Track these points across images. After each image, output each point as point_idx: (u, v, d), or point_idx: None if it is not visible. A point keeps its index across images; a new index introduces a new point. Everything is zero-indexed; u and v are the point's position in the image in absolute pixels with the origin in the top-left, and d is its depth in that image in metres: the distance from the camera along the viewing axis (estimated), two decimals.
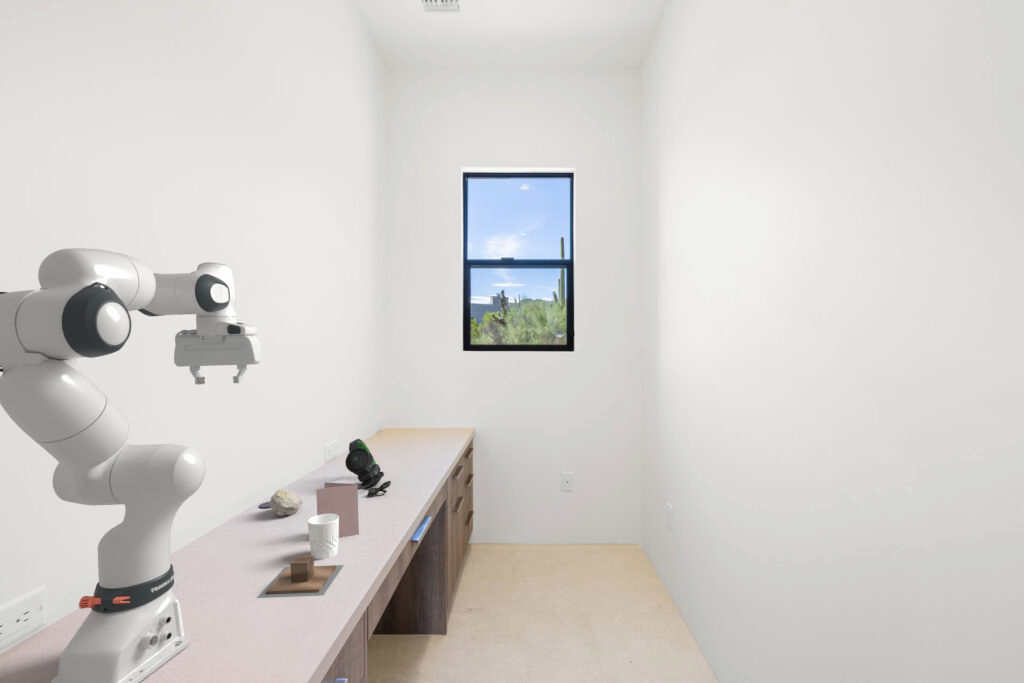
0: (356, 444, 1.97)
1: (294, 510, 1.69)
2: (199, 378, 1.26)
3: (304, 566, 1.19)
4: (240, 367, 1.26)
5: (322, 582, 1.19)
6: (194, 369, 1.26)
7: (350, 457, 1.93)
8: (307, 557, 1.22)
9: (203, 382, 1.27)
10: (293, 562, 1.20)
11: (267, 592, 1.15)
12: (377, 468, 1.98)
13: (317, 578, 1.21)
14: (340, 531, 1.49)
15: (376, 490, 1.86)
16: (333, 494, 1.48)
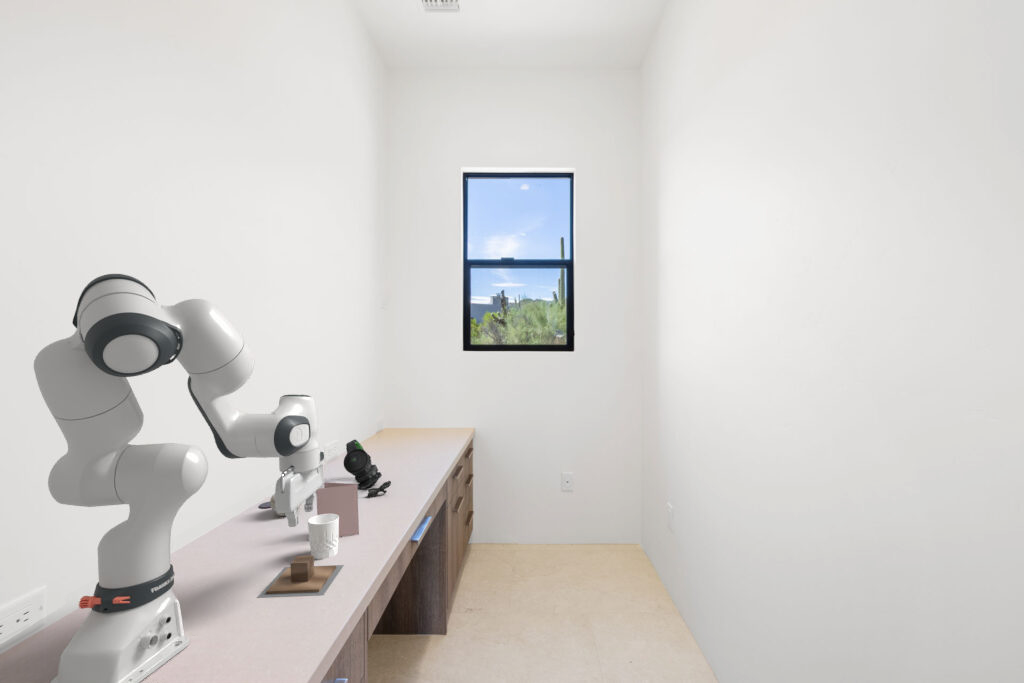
0: (354, 445, 1.96)
1: None
2: (297, 518, 1.17)
3: (304, 566, 1.19)
4: (314, 493, 1.27)
5: (322, 582, 1.19)
6: (296, 510, 1.16)
7: (348, 458, 1.92)
8: (307, 557, 1.22)
9: None
10: (293, 562, 1.20)
11: (267, 592, 1.15)
12: (375, 468, 1.98)
13: (317, 578, 1.21)
14: (340, 531, 1.49)
15: (376, 490, 1.86)
16: (333, 494, 1.48)
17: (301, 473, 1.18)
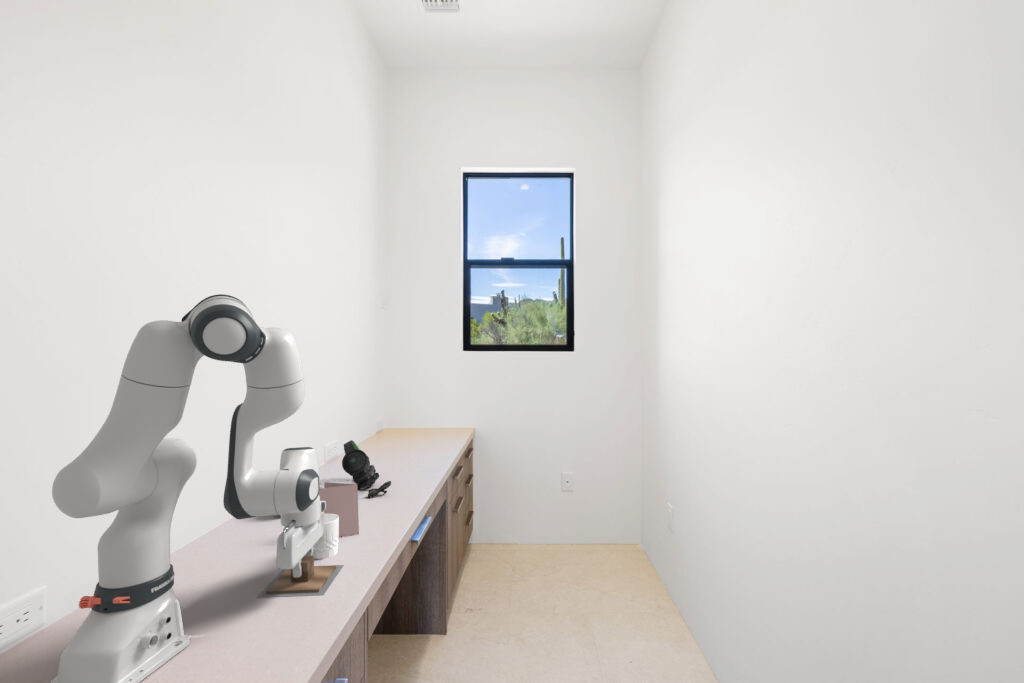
0: (352, 445, 1.95)
1: None
2: (302, 568, 1.19)
3: (304, 566, 1.19)
4: (312, 547, 1.25)
5: (322, 582, 1.19)
6: (300, 561, 1.18)
7: (347, 459, 1.91)
8: (307, 557, 1.22)
9: None
10: None
11: (267, 592, 1.15)
12: (373, 469, 1.97)
13: (317, 578, 1.21)
14: (340, 531, 1.49)
15: (377, 491, 1.85)
16: (333, 494, 1.48)
17: (302, 527, 1.18)
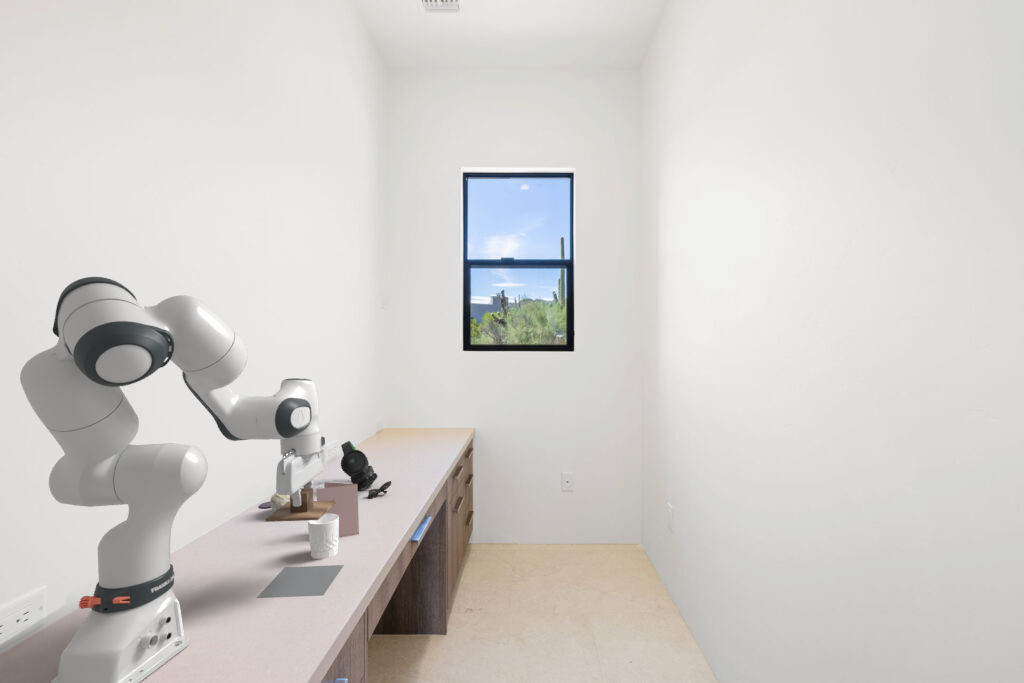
0: (350, 446, 1.93)
1: None
2: (302, 498, 1.20)
3: (304, 496, 1.20)
4: (312, 480, 1.26)
5: (321, 512, 1.19)
6: (300, 490, 1.19)
7: (346, 459, 1.90)
8: (306, 489, 1.23)
9: None
10: None
11: (266, 520, 1.16)
12: (371, 469, 1.96)
13: (316, 509, 1.21)
14: (340, 531, 1.49)
15: (377, 491, 1.85)
16: (333, 494, 1.48)
17: (302, 456, 1.19)
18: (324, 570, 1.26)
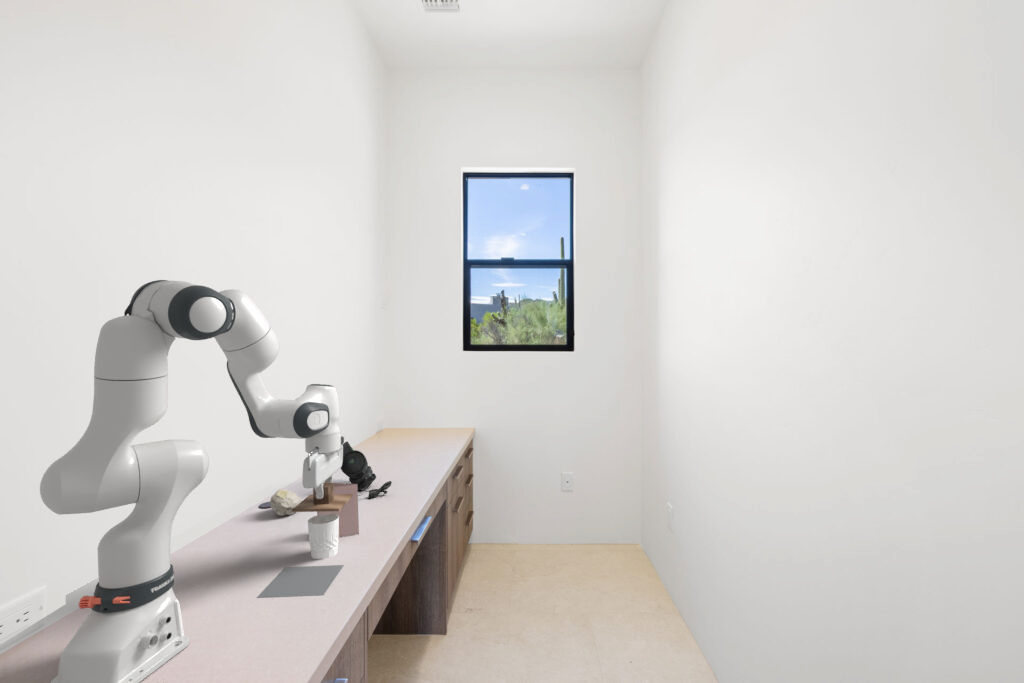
0: (349, 447, 1.93)
1: None
2: (324, 491, 1.34)
3: (326, 490, 1.34)
4: (332, 475, 1.40)
5: (341, 504, 1.33)
6: None
7: (345, 460, 1.89)
8: (328, 483, 1.37)
9: None
10: None
11: (293, 510, 1.30)
12: (370, 470, 1.96)
13: (337, 502, 1.35)
14: (340, 531, 1.49)
15: (378, 491, 1.85)
16: None
17: (325, 454, 1.32)
18: (324, 570, 1.26)
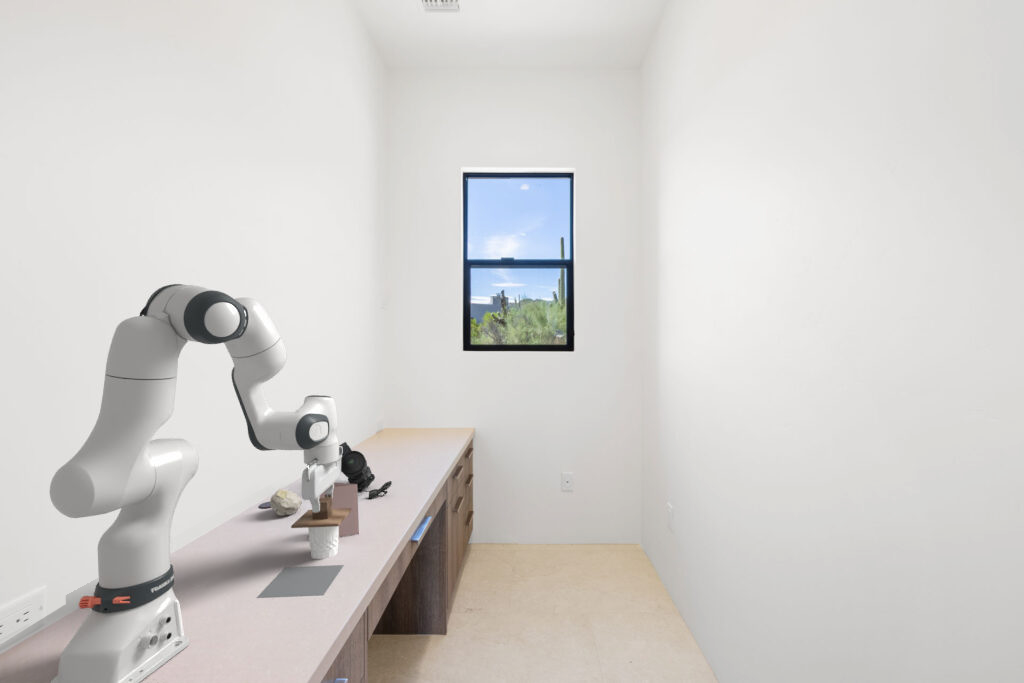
0: (348, 447, 1.92)
1: (294, 510, 1.69)
2: (320, 505, 1.32)
3: (324, 505, 1.34)
4: (333, 484, 1.42)
5: (340, 519, 1.34)
6: (319, 497, 1.31)
7: (344, 460, 1.88)
8: (326, 498, 1.37)
9: None
10: None
11: (292, 526, 1.30)
12: (369, 470, 1.95)
13: (335, 516, 1.36)
14: (340, 531, 1.49)
15: (378, 491, 1.84)
16: (333, 494, 1.48)
17: (323, 465, 1.33)
18: (324, 570, 1.26)
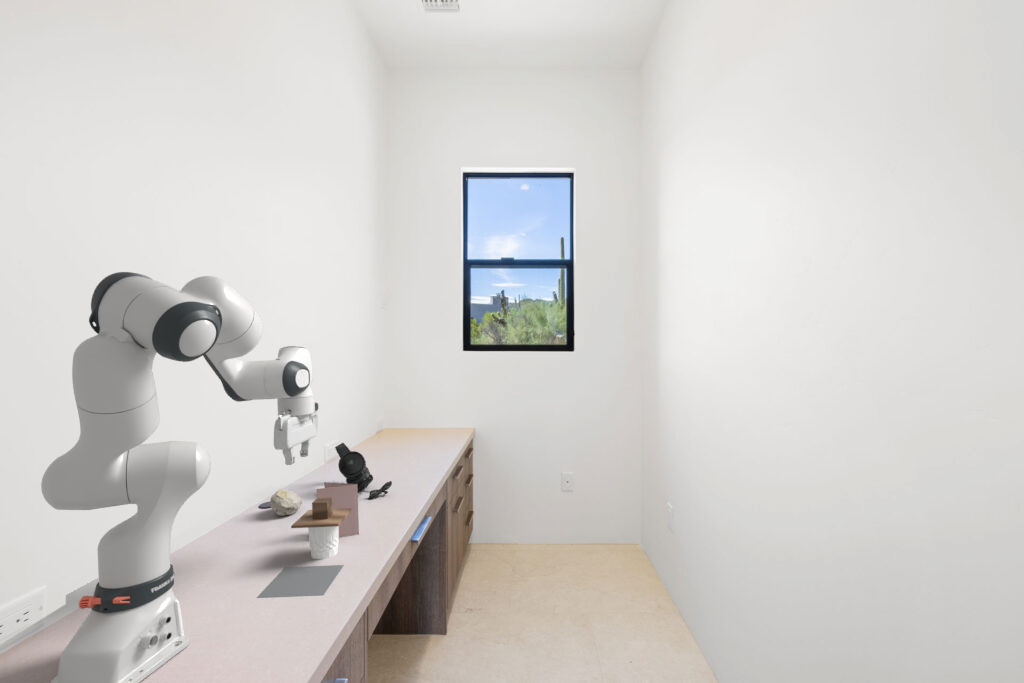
0: (346, 448, 1.91)
1: (294, 510, 1.69)
2: (294, 457, 1.29)
3: (324, 505, 1.34)
4: (309, 441, 1.39)
5: (340, 519, 1.34)
6: (292, 449, 1.28)
7: (344, 461, 1.87)
8: (326, 498, 1.37)
9: None
10: (314, 502, 1.34)
11: (292, 526, 1.30)
12: (368, 471, 1.95)
13: (336, 516, 1.36)
14: (340, 531, 1.49)
15: (379, 492, 1.84)
16: (333, 494, 1.48)
17: (297, 417, 1.30)
18: (324, 570, 1.26)
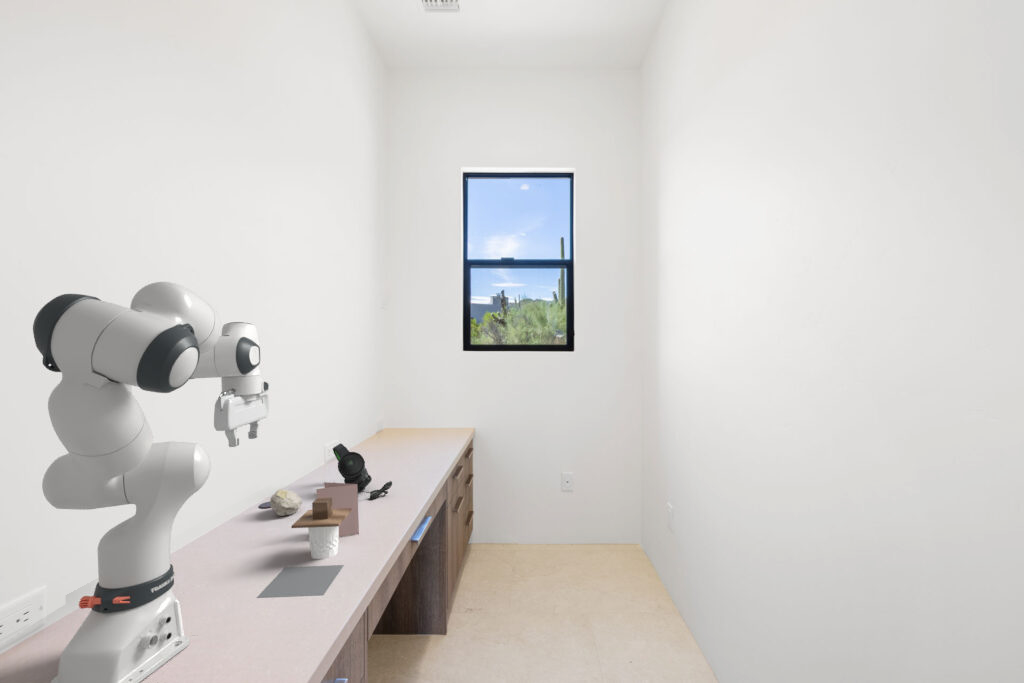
0: (345, 448, 1.90)
1: (294, 510, 1.69)
2: (238, 439, 1.22)
3: (325, 505, 1.34)
4: (258, 422, 1.33)
5: (340, 519, 1.34)
6: (236, 431, 1.21)
7: (343, 462, 1.86)
8: (326, 498, 1.37)
9: None
10: (314, 502, 1.34)
11: (292, 526, 1.30)
12: (366, 471, 1.94)
13: (336, 516, 1.36)
14: (340, 531, 1.49)
15: (379, 492, 1.84)
16: (333, 494, 1.48)
17: (242, 397, 1.23)
18: (324, 570, 1.26)
